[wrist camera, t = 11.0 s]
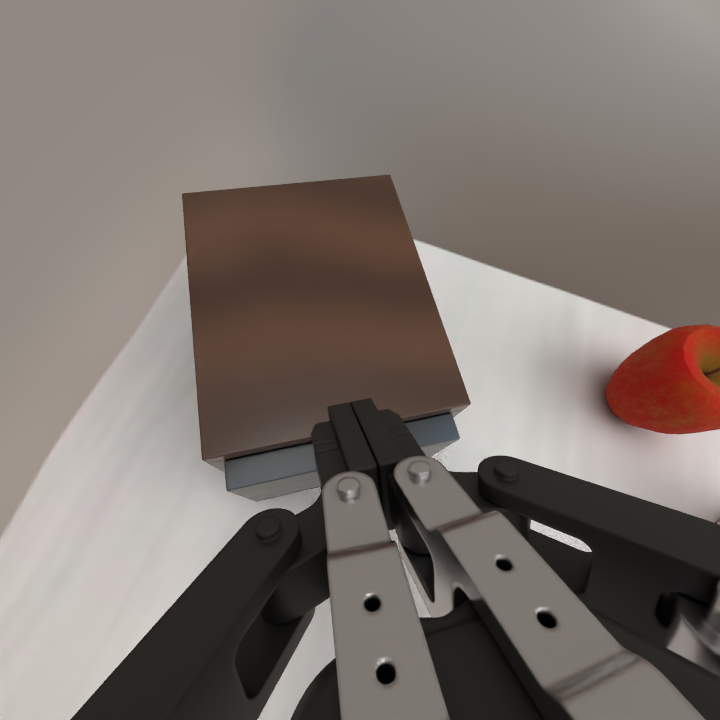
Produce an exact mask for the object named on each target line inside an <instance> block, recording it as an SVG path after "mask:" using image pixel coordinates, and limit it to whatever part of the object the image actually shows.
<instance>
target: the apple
mask: <svg viewBox="0 0 720 720" xmlns="http://www.w3.org/2000/svg"><path fill="white" fill-rule="evenodd" d="M606 397H607V402H608V404H609V406H610V407H611V409H612V411H613V412H614V414H615V415H616V416H618V417H619V418H620V419H622V420H623V421H624V422H626V423H627V424H630V425H633V426H637V427H640V428H644V429H648V430H651V431H655V432H660V433H665V434H688V433H697V432H704V431H710V430H717V429H720V327H717V326H712V325H707V324H706V325H695V326H684V327H679V328H674V329H671V330H669V331H668V332H666V333H664V334H662V335H660V336H658V337H656V338H654V339H652V340H651V341H649V342H648V343H646V344H645V345H643V346H642V347H640V348H639V349H638V350H636V351H635V352H633V353H632V354H631V355H630V356H629V357H627V358H626V359H625V360H624V361H623V362H622V363H621V364H620V366H619V367H618V368H617V370H616V371H615V372H614V374H613V376H612V378H611V380H610V382H609V384H608V386H607V388H606Z"/></svg>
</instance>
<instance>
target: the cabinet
mask: <svg viewBox="0 0 720 720" xmlns="http://www.w3.org/2000/svg"><path fill="white" fill-rule="evenodd" d="M182 199H183V212H184V226H185V239H186V253H187V266H188V279H189V293H190V306H191V319H192V333H193V346H194V359H195V372H196V386H197V399H198V412H199V426H200V439H201V452H202V460H203V461H205V462H207V463H208V464H210V465H212V466H214V467H216V468H218V469H219V470H221V471H223V472H225V467H224V461H226V460H231V459H236V458H240V457H245V456H250V455H254V454H259V453H261V452H263V451H268V450H272V449H277V448H282V447H287V446H291V445H296V444H301V443H306V442H310V441H312V438H311V432H312V430H313V428H314V426H315V424H317V423H322V422H327V421H329V416H328V406H332V405H337V404H342V403H347V402H349V404H350V402H352V401H357V400H362V399H367V398H371V399H372V400H373V402H374V404H375V406H376V407H377V409H378V411H380V410H385V409H390V410H392V411H393V412H395V413H397V414H398V415H400V417H401V418H402V420H403V422H404V423H406V422H410V421H415V420H420V419H424V418H429V417H434V416H439V415H443V414H448V413H452V416H453V417H455V416H456V415H457V414H458V413H460V412H461V411H462V410H463V409H465V408H466V407H467V406H469V405H470V400H469V397H468V394H467V392H466V389H465V386H464V383H463V380H462V377H461V374H460V372H459V369H458V366H457V363H456V360H455V357H454V355H453V352H452V349H451V346H450V343H449V340H448V338H447V335H446V332H445V329H444V326H443V323H442V321H441V318H440V315H439V312H438V309H437V306H436V303H435V301H434V298H433V295H432V292H431V289H430V286H429V284H428V281H427V278H426V275H425V272H424V269H423V267H422V264H421V261H420V258H419V255H418V252H417V250H416V247H415V244H414V241H413V238H412V235H411V232H410V230H409V227H408V224H407V221H406V218H405V215H404V213H403V210H402V207H401V204H400V201H399V199H398V196H397V193H396V190H395V187H394V184H393V182H392V179H391V176H390V175H381V176H370V177H359V178H348V179H337V180H326V181H315V182H304V183H293V184H282V185H271V186H260V187H249V188H238V189H227V190H216V191H205V192H194V193H184V194H182Z"/></svg>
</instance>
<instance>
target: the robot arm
mask: <svg viewBox="0 0 720 720" xmlns="http://www.w3.org/2000/svg"><path fill="white" fill-rule="evenodd" d="M328 416H329V421H327V422H322V423H317V424H315V426H314V428H313V430H312V432H311V438H312V444H313V449H314V455H315V461H316V467H317V473H318V477H319V482H320V487H321V494H320V496H319V498H318V499H317V500H316V502H315V503H314V504H313V505H311V506H310V507H309V508H307V509H306V510H304V511H302V512H300V513H298V514H296V515H294V513H292V512H291V511H289V510H286V509H281V508H274V509H268V510H265V511H262V512H260V513H258V514H256V515H254V516H253V517H251V518H250V519H249V520H248V521H247V522H246V523H245V524H244V525H243V526H242V527H241V528H240V530H239V531H238V532H237V533H236V534H235V535H234V536H233V537H232V539H231V540H230V541H229V542H228V543H227V544H226V545H225V546H224V548H223V549H222V550H221V551H220V552H219V553H218V554H217V555H216V557H215V558H214V559H213V560H212V561H211V562H210V563H209V564H208V566H207V567H206V568H205V569H204V570H203V571H202V572H201V573H200V575H199V576H198V577H197V578H196V579H195V580H194V581H193V582H192V584H191V585H190V586H189V587H188V588H187V589H186V590H185V591H184V593H183V594H182V595H181V596H180V597H179V598H178V599H177V600H176V602H175V603H174V604H173V605H172V606H171V607H170V608H169V609H168V611H167V612H166V613H165V614H164V615H163V616H162V617H161V618H160V620H159V621H158V622H157V623H156V624H155V625H154V626H153V627H152V629H151V630H150V631H149V632H148V633H147V634H146V635H145V636H144V638H143V639H142V640H141V641H140V642H139V643H138V644H137V645H136V647H135V648H134V649H133V650H132V651H131V652H130V653H129V654H128V656H127V657H126V658H125V659H124V660H123V661H122V662H121V663H120V665H119V666H118V667H117V668H116V669H115V670H114V671H113V672H112V674H111V675H110V676H109V677H108V678H107V679H106V680H105V681H104V683H103V684H102V685H101V686H100V687H99V688H98V689H97V690H96V692H95V693H94V694H93V695H92V696H91V697H90V698H89V699H88V701H87V702H86V703H85V704H84V705H83V706H82V707H81V708H80V709H79V711H78V712H77V713H76V714H75V715H74V716H73V717H72V718H71V720H257V719H258V717H259V715H260V714H261V712H262V710H263V708H264V706H265V704H266V703H267V701H268V699H269V697H270V695H271V693H272V692H273V690H274V688H275V686H276V684H277V682H278V681H279V679H280V677H281V675H282V673H283V671H284V670H285V668H286V666H287V664H288V662H289V660H290V659H291V657H292V655H293V653H294V651H295V649H296V648H297V646H298V644H299V642H300V640H301V638H302V637H303V635H304V633H305V631H306V629H307V627H308V626H309V624H310V622H311V620H312V618H313V616H314V612H315V607H316V606H317V605H319V604H320V603H322V602H323V601H325V600H326V599H328V598H329V597H330V602H331V613H332V624H333V635H334V645H335V656H336V658H335V659H333V660H332V661H331V662H330V663H329V664H328V665H326V666H325V667H324V668H323V670H322V671H321V672H320V673H319V674H318V675H317V676H316V677H315V679H314V680H313V681H312V683H311V684H310V685H309V687H308V688H307V690H306V691H305V693H304V695H303V696H302V698H301V700H300V701H299V703H298V705H297V707H296V709H295V711H294V713H293V716H292V718H291V720H720V525H719V524H716V523H713V522H710V521H707V520H704V519H701V518H698V517H695V516H692V515H689V514H686V513H683V512H679V511H676V510H673V509H670V508H667V507H664V506H661V505H658V504H655V503H652V502H649V501H646V500H643V499H640V498H636V497H633V496H630V495H627V494H624V493H621V492H618V491H615V490H612V489H609V488H606V487H603V486H600V485H597V484H593V483H590V482H587V481H584V480H581V479H578V478H575V477H572V476H569V475H566V474H563V473H560V472H557V471H554V470H551V469H547V468H544V467H541V466H538V465H535V464H532V463H529V462H526V461H523V460H520V459H517V458H513V457H509V456H492V457H488V458H486V459H484V460H483V461H482V462H481V463H480V464H479V466H478V472H451V471H448V470H447V469H446V468H445V467H444V466H443V465H442V464H441V463H440V462H439V461H437V460H435V459H433V458H431V457H427V456H426V455H425V453H424V452H423V450H422V449H421V447H420V446H419V444H418V443H417V441H416V440H415V438H414V437H413V435H412V434H411V433H410V431H409V429H408V428H407V426H406V425H405V423H404V422H403V420H402V418H401V417H400V415H398V414H397V413H395V412H393V411H392V410H390V409H385V410H380V411H378V409H377V407H376V406H375V404H374V402H373V400H372V399H371V398H367V399H362V400H357V401H352V402H350V404H349V402H347V403H342V404H337V405H332V406H328ZM531 520H534V521H536V522H539V523H541V524H544V525H546V526H548V527H551V528H553V529H556V530H558V531H561V532H563V533H565V534H568V535H570V536H573V537H575V538H578V539H580V540H581V541H583V542H584V543H586V544H587V545H588V546H589V547H590V549H591V550H592V552H584V551H581V550H578V549H576V548H574V547H571V546H569V545H567V544H564V543H562V542H560V541H557V540H555V539H552V538H550V537H548V536H545V535H543V534H541V533H538V532H536V531H534V530H531V529H530V523H531ZM392 529H395V530H396V532H397V535H398V540H399V550H398V547H397V544H396V542H395V541H391V537H390V534H389V531H388V530H392ZM399 551H400V553H399ZM400 554H401V556H402V558H403V560H404V562H405V564H406V566H407V568H408V570H409V572H410V574H411V576H412V578H413V580H414V582H415V584H416V586H417V588H418V590H419V592H420V594H421V596H422V598H423V600H424V602H425V604H426V606H427V608H428V611H429V613H430V615H431V618H419V616H418V612H417V609H416V606H415V602H414V599H413V596H412V592H411V589H410V586H409V582H408V579H407V576H406V573H405V569H404V566H403V563H402V559H401V556H400Z"/></svg>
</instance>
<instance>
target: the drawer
mask: <svg viewBox="0 0 720 720" xmlns="http://www.w3.org/2000/svg"><path fill="white" fill-rule="evenodd" d="M405 425H406V426H407V428H408V429H409V431H410V433H411V434H412V435H413V437H414V438H415V440H416V441H417V443H418V444H419V446H420V447H421V449H422V450H423V452H424V453H425V455H426V456H427V457H431V456H432V455H434V454H436V453H437V452H439V451H440V450H442V449H444V448H445V447H447V446H449V445H450V444H452V443H453V442H455V441H457V440H458V439H460V437H459V434H458V431H457V428H456V425H455V422H454V419H453V416H452V413H448V414H443V415H439V416H434V417H429V418H424V419H420V420H415V421H410V422H406V423H405ZM224 467H225V478H226V488H227V491H229V492H232V493H234V494H237V495H240V496H243V497H245V498H248V499H251V500H254V501H260V500H264V499H269V498H273V497H277V496H282V495H286V494H290V493H294V492H299V491H303V490H307V489H312V488H316V487H320V482H319V477H318V473H317V467H316V461H315V455H314V449H313V444H312V441H310V442H306V443H301V444H296V445H291V446H287V447H282V448H277V449H272V450H268V451H263V452H261V453H259V454H254V455H250V456H245V457H240V458H236V459H231V460H226V461H224Z"/></svg>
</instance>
